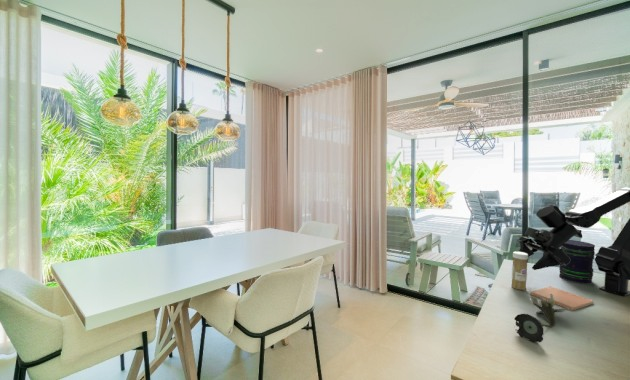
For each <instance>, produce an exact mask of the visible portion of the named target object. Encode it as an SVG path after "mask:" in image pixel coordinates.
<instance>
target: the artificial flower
mask: <svg viewBox="0 0 630 380" xmlns="http://www.w3.org/2000/svg"><path fill="white" fill-rule="evenodd" d="M551 295H552V294H550V296H551ZM529 300H530V301H531V302H532V304H533V306H534V307H536V308H538V309H539V311H536V312H535V314H540V313H541V314H543V315H544V317H545V318H546V320H547V322H549V324H544V323H542V322H541V320H539V319H538V318H537V317H534V316H532V315H530V314H528V313H520V314H517V315H516V316H515V317H513V318H514V320H515V327H518V329H516V334H518V335H519V337H520V338H525V339H527V340H528V339H529V340H528V341H529V342H533V343H535V342H538V343H541V342H543V341H544V337H543V335H544V327H547V328H553V327H554V326H555V324H556V321H557V319H556V315H555V313H564V312H567V311H570V309H568V308H565V307H562V308H557V309H556V308H553V307H554V306H555V305H556V304H555V300H554V298H553V295H552V296H551V298H549V301H547V300H545V299H544V298H543V297H541V298H540V303H539V301H538V298H537V297H536V296H533V295H530V296H529ZM545 338H546V337H545Z"/></svg>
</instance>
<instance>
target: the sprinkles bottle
mask: <svg viewBox="0 0 630 380" xmlns="http://www.w3.org/2000/svg"><path fill="white" fill-rule="evenodd" d="M528 259H529V257H528V254H527V253H524V252H519V251H513V252H512V266H511V268H512V269H511V288H513V289H517V290H520V291H524V290H525V291H526V290H527V279H528V278H527V277H528Z"/></svg>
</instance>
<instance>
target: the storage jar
mask: <svg viewBox="0 0 630 380" xmlns="http://www.w3.org/2000/svg"><path fill="white" fill-rule="evenodd" d="M565 245H566V247H560V249H562V250H563V251H564V252H565V253H566V254H567V255H568V256H569V257H570V263H568V264H567V265H566V266H565V265H563V264H562V265H561V266H560V265H559V277H560V278H561V279H562V280H566V281H569V282H572V283H577V284H585V285H588V284H589V285H590V284H592V283H593V277H594V268H593V264H594V260H595V254H596V253H595V248H596V247H595V246H596V245H595V244H593V243H590V242H585V241H580V240H573V239H572V240H571V239H569V240H568V241H567V242H566V243H565Z"/></svg>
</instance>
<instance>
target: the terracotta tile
mask: <svg viewBox="0 0 630 380" xmlns="http://www.w3.org/2000/svg"><path fill="white" fill-rule="evenodd" d="M529 294H530V296H533V297H535V298H539V299H541V297H543V298H544V299H545V300H547V301H549V298H551V296H552V295H553V298H554V300H555V304H554V305H558V306H559V307H562V308H568V309H569V311H570V310H571V311H575V310H578V309H582V308H584V307H587V306H591V305H594V299H593V300H592V299H590V298H586V297H584V296H580V295H577V294H575V293H572V292H568V291H565V290H563V289H560V288H557V287H554V286H547V287H542V288H539V289H535V290H531V291H529ZM550 294H552V295H551V296H550Z"/></svg>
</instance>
